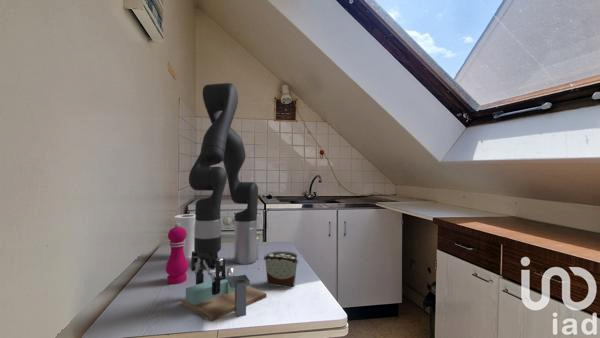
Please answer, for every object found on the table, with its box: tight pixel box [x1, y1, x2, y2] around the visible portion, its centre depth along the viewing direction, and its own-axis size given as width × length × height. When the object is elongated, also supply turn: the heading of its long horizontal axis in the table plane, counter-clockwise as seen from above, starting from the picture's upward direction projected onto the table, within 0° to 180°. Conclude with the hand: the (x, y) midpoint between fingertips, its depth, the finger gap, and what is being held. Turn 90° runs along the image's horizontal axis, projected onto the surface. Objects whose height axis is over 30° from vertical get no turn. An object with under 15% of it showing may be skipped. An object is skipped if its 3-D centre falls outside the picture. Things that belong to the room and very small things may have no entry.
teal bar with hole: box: [185, 273, 239, 305], centre depth 89 cm, size 16×5×4 cm, turn 139°
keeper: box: [228, 274, 251, 317], centre depth 81 cm, size 6×5×8 cm
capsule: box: [226, 267, 234, 280], centre depth 93 cm, size 2×2×8 cm
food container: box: [263, 250, 300, 288], centre depth 102 cm, size 12×6×10 cm, turn 71°
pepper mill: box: [165, 222, 189, 285], centre depth 103 cm, size 7×7×20 cm
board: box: [180, 285, 267, 322], centre depth 88 cm, size 19×15×1 cm
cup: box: [174, 213, 195, 259], centre depth 132 cm, size 11×11×18 cm
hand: (207, 290), depth 87 cm, fingers open, 8 cm apart
